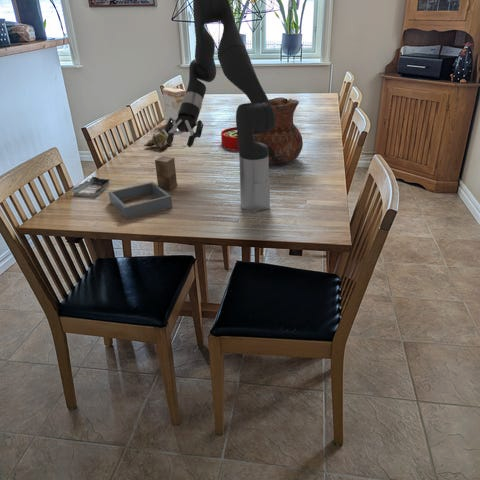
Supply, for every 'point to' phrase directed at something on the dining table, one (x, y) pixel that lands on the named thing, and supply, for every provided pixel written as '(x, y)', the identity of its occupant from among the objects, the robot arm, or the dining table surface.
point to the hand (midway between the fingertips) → (178, 145)
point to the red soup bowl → (230, 138)
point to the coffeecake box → (172, 102)
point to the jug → (282, 133)
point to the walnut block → (166, 173)
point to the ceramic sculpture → (158, 139)
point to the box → (143, 207)
